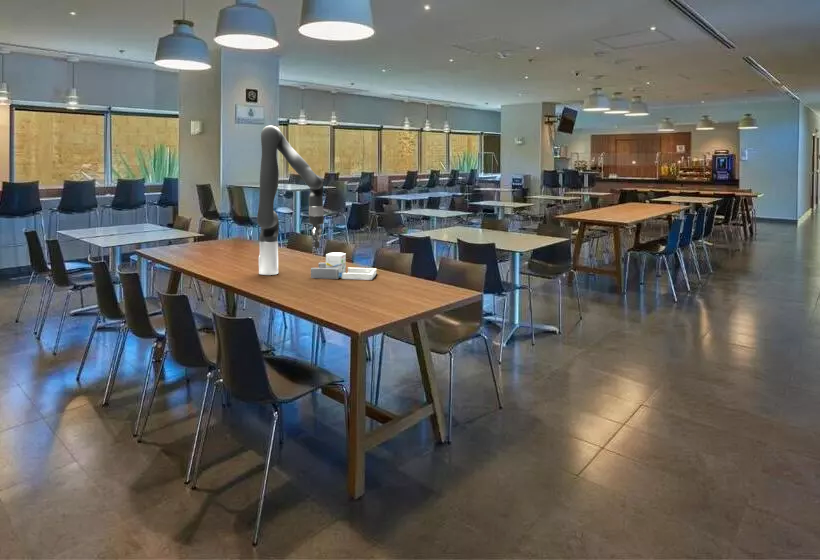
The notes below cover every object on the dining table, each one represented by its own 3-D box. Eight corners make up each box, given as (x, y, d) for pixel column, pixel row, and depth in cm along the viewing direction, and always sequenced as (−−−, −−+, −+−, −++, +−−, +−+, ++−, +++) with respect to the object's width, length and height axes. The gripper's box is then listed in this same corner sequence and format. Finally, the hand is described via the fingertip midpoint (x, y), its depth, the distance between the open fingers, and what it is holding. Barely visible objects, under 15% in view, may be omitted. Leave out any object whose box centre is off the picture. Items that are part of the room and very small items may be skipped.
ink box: (341, 277, 309) (341, 255, 307) (325, 276, 311) (325, 254, 309) (346, 274, 318) (346, 252, 315) (330, 273, 319) (330, 252, 317)
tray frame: (342, 278, 306) (342, 273, 305) (348, 273, 322) (348, 267, 321) (371, 280, 305) (371, 274, 304) (376, 274, 320) (376, 268, 320)
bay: (310, 277, 307) (310, 268, 306) (319, 271, 324) (319, 262, 323) (337, 279, 305) (337, 269, 304) (344, 272, 323) (344, 263, 322)
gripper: (312, 213, 316) (313, 246, 319) (305, 215, 303) (306, 250, 306) (326, 213, 315) (327, 246, 318) (320, 216, 302) (321, 250, 306)
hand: (317, 248), depth 312 cm, fingers closed
